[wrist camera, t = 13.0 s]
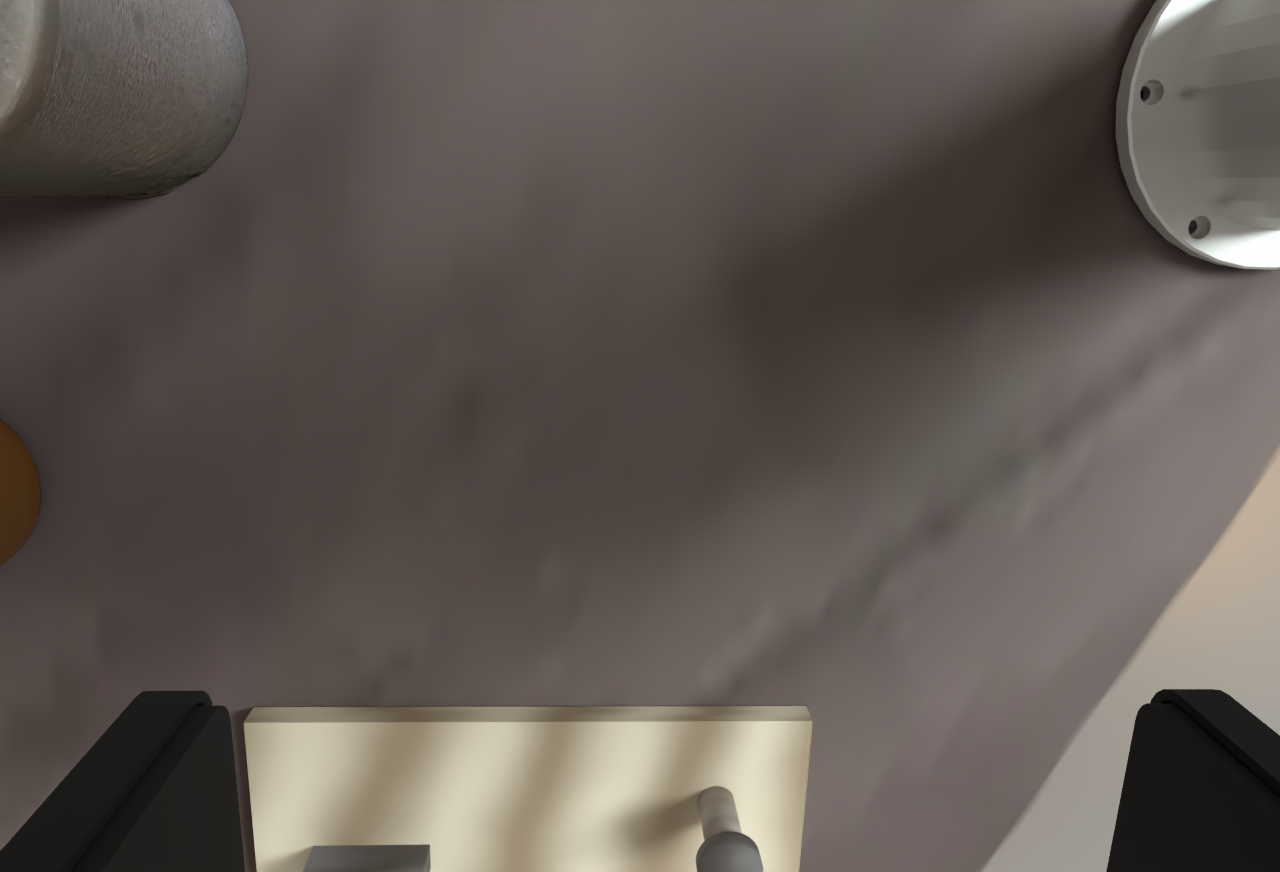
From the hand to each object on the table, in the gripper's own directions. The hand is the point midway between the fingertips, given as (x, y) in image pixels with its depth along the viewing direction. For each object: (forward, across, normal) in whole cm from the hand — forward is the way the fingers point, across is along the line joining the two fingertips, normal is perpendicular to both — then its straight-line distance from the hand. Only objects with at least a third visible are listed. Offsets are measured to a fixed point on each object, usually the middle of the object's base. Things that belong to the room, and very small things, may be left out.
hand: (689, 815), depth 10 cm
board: (+28, +3, +23) cm, 37 cm away
